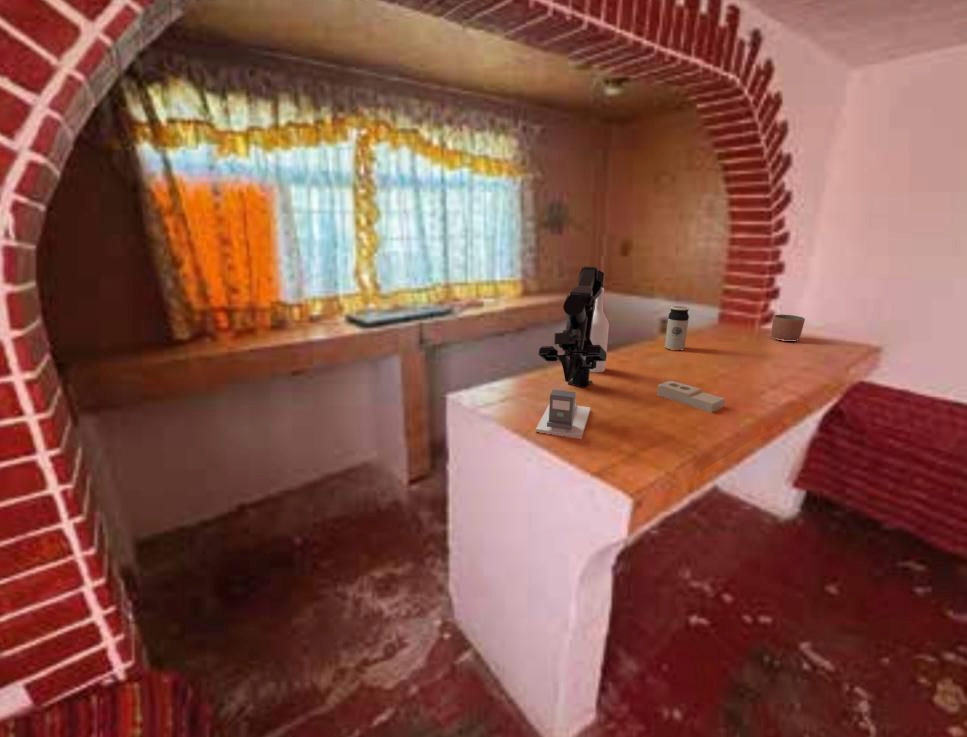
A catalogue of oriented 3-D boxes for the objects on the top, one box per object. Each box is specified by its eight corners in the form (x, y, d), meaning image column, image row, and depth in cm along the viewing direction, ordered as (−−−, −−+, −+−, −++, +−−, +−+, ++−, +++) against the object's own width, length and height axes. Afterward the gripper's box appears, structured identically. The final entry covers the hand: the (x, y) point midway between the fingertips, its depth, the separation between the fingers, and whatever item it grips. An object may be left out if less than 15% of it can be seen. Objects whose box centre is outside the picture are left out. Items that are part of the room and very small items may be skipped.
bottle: (578, 367, 183) (584, 287, 174) (596, 365, 186) (603, 286, 176) (590, 373, 176) (597, 290, 166) (609, 371, 178) (617, 289, 169)
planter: (799, 344, 218) (804, 321, 214) (768, 341, 224) (772, 317, 221) (800, 339, 228) (805, 316, 224) (770, 335, 234) (774, 313, 231)
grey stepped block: (713, 400, 141) (658, 384, 154) (710, 413, 142) (656, 396, 156) (725, 395, 145) (670, 379, 159) (723, 408, 146) (669, 391, 160)
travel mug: (667, 345, 215) (672, 305, 209) (686, 348, 210) (692, 307, 205) (662, 349, 209) (667, 307, 203) (681, 352, 204) (687, 310, 199)
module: (551, 418, 132) (552, 389, 129) (573, 421, 130) (575, 392, 127) (548, 425, 128) (549, 395, 125) (570, 428, 126) (573, 398, 123)
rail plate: (549, 405, 146) (550, 396, 145) (590, 410, 143) (591, 401, 142) (535, 432, 128) (536, 421, 127) (581, 439, 124) (582, 428, 124)
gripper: (534, 320, 140) (525, 371, 135) (596, 317, 129) (588, 371, 125) (550, 336, 148) (542, 384, 144) (610, 334, 138) (603, 386, 133)
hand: (567, 381), depth 136 cm, fingers closed
